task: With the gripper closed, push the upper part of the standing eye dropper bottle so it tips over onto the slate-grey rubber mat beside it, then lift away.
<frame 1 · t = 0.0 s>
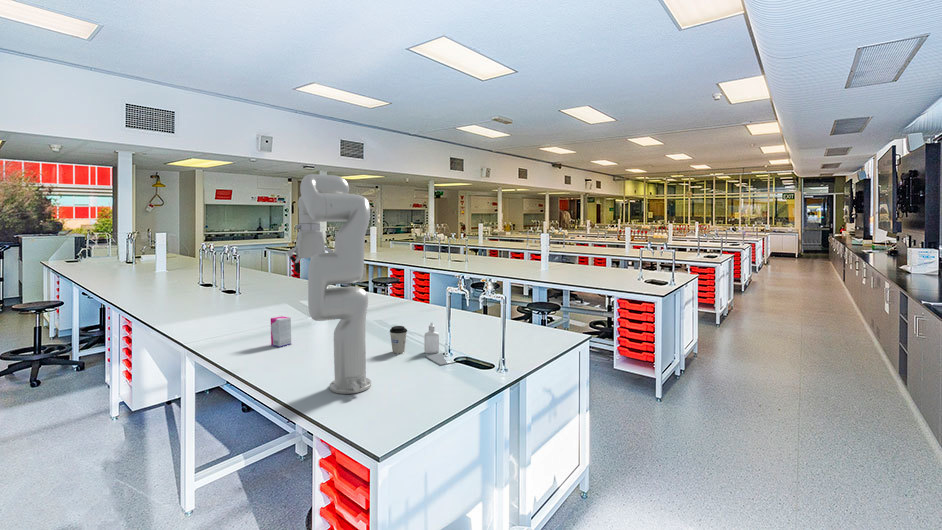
hand: (311, 272, 178), 31 cm above the table, tool pointing down, fingers open, 9 cm apart
supplement box: (281, 345, 189), on the table
eye dropper bottle: (431, 352, 181), on the table
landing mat: (444, 359, 172), on the table
coffee cup: (398, 352, 181), on the table
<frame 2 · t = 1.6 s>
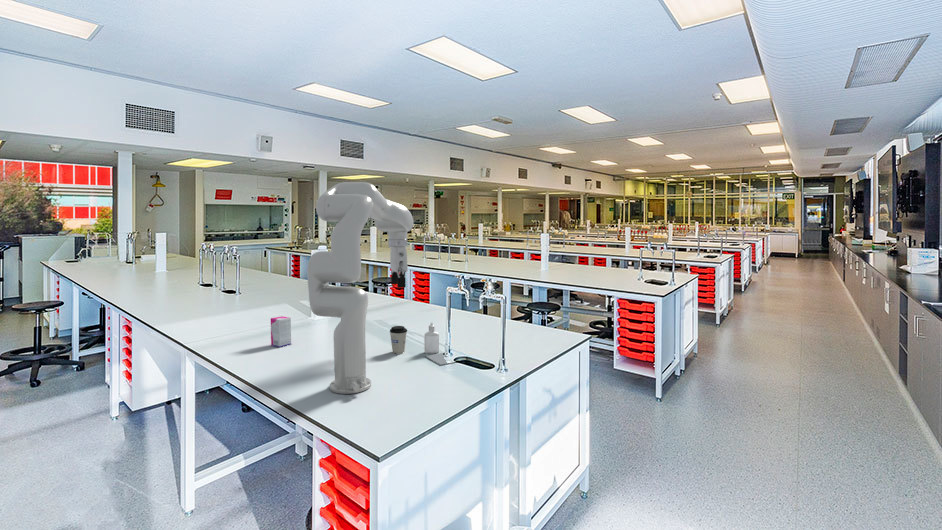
hand: (398, 285, 186), 25 cm above the table, tool pointing down, fingers open, 9 cm apart
nothing on the table moved.
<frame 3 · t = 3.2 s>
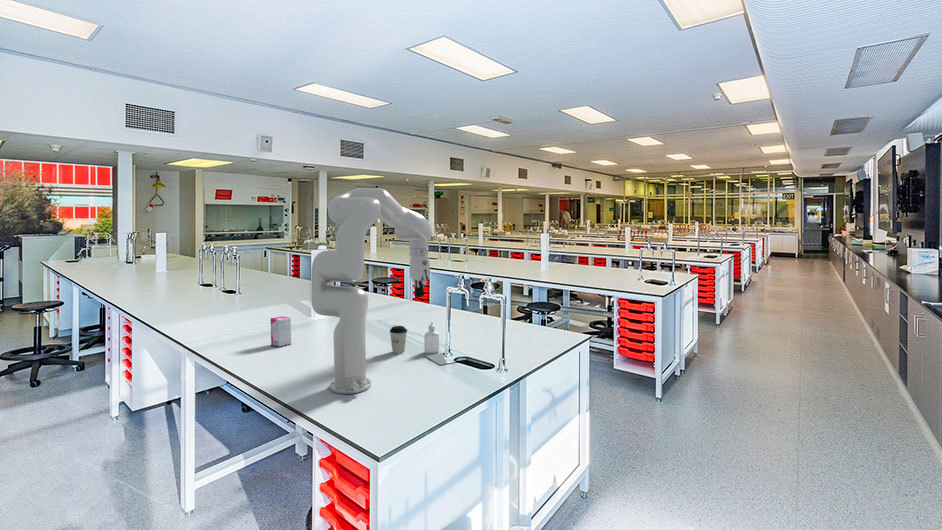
hand: (419, 296, 188), 21 cm above the table, tool pointing down, fingers closed
nothing on the table moved.
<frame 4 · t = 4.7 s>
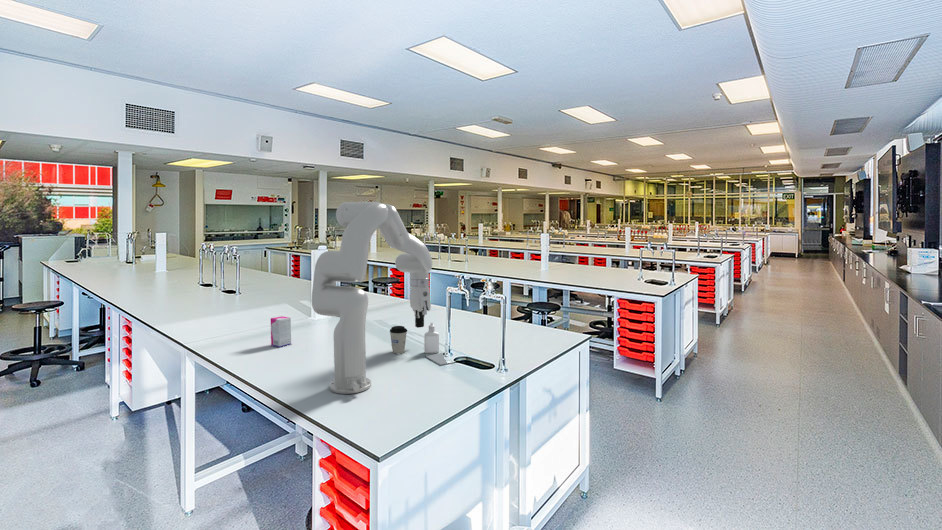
hand: (419, 326, 188), 8 cm above the table, tool pointing down, fingers closed
nothing on the table moved.
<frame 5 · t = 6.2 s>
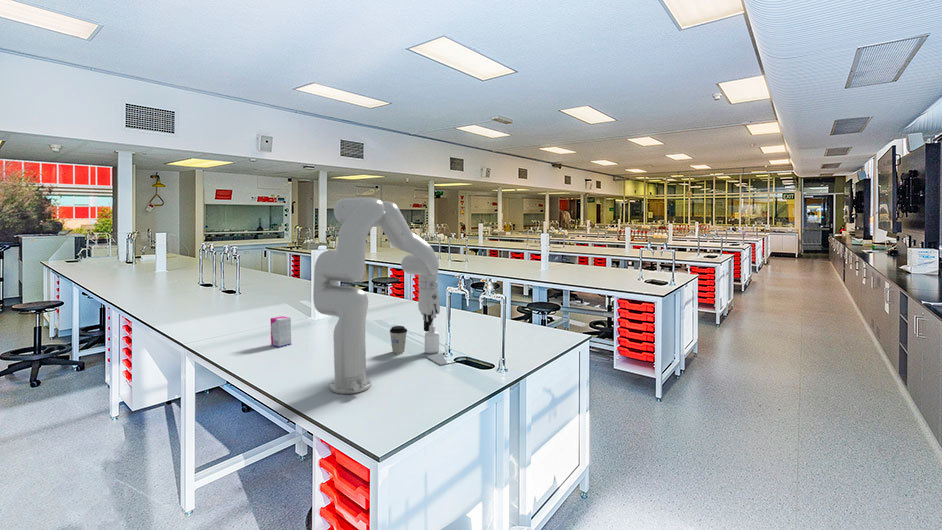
hand: (428, 330, 182), 8 cm above the table, tool pointing down, fingers closed
eye dropper bottle: (431, 352, 181), on the table, touching gripper
everything else where it was.
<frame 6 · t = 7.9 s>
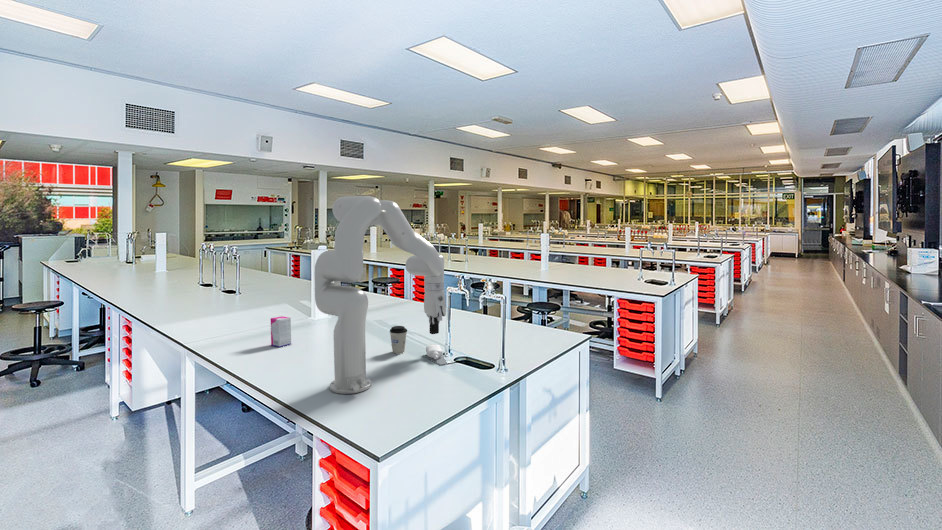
hand: (434, 333, 178), 8 cm above the table, tool pointing down, fingers closed
eye dropper bottle: (432, 348, 179), point 2 cm above the table, touching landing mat
everything else where it was.
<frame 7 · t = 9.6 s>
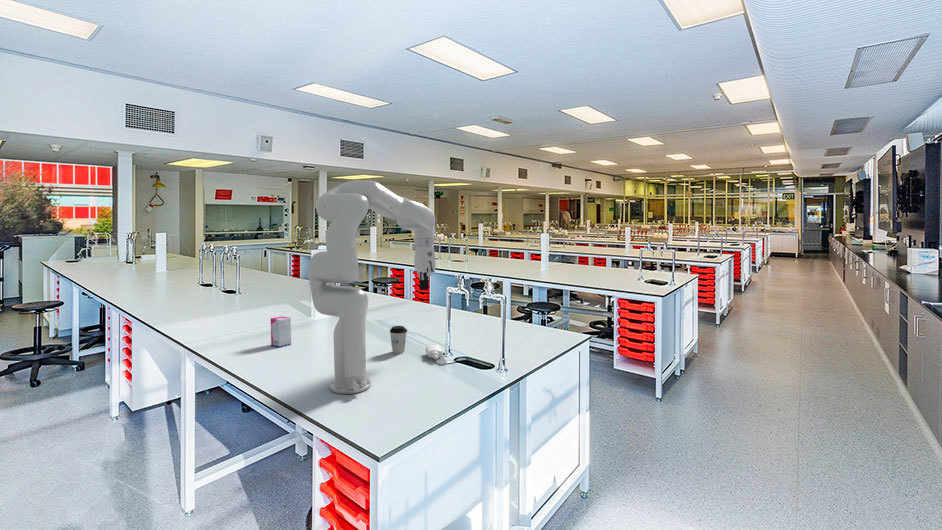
hand: (423, 289, 179), 25 cm above the table, tool pointing down, fingers closed
nothing on the table moved.
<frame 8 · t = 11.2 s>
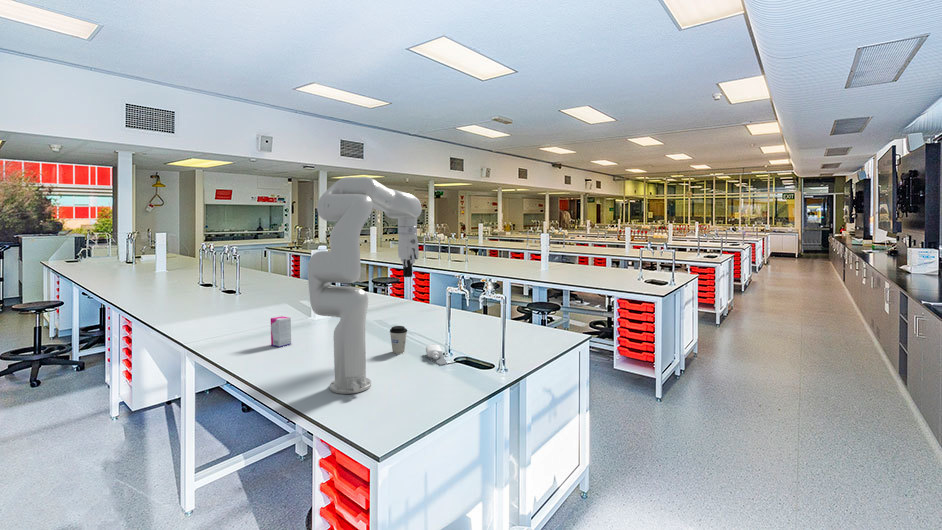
hand: (407, 276, 184), 29 cm above the table, tool pointing down, fingers closed
nothing on the table moved.
at the end: eye dropper bottle tilted 89°; eye dropper bottle touching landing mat; the gripper is holding nothing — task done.
